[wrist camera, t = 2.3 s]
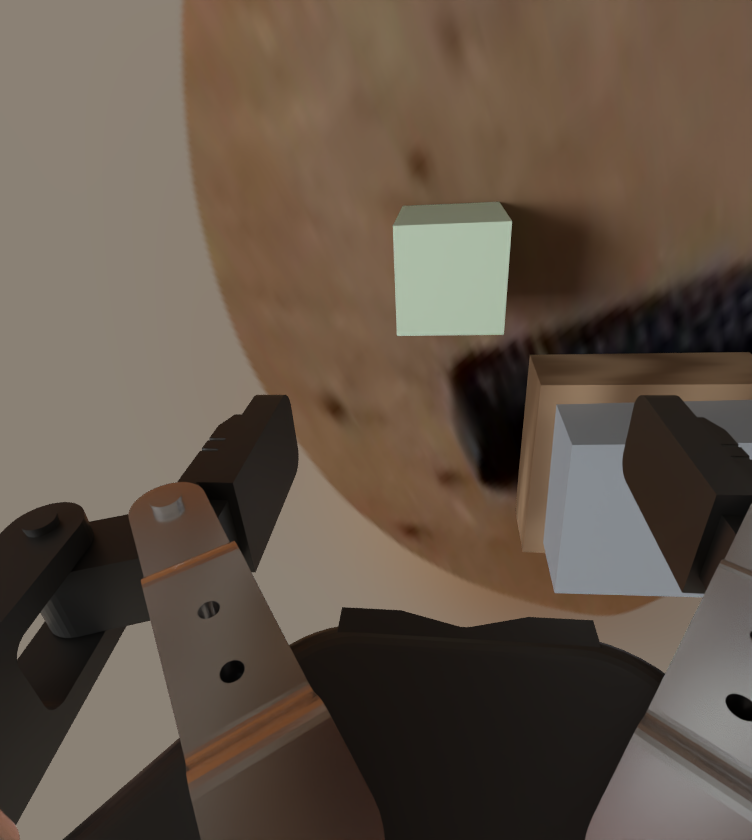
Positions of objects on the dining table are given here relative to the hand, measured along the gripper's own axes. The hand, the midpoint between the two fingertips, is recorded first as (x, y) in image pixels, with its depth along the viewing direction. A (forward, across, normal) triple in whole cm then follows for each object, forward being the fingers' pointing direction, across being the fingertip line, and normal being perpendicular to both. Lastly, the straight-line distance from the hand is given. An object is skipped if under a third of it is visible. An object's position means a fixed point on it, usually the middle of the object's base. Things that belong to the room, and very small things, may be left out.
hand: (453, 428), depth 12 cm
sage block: (+18, 0, 0) cm, 19 cm away
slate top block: (+14, -11, +12) cm, 22 cm away
